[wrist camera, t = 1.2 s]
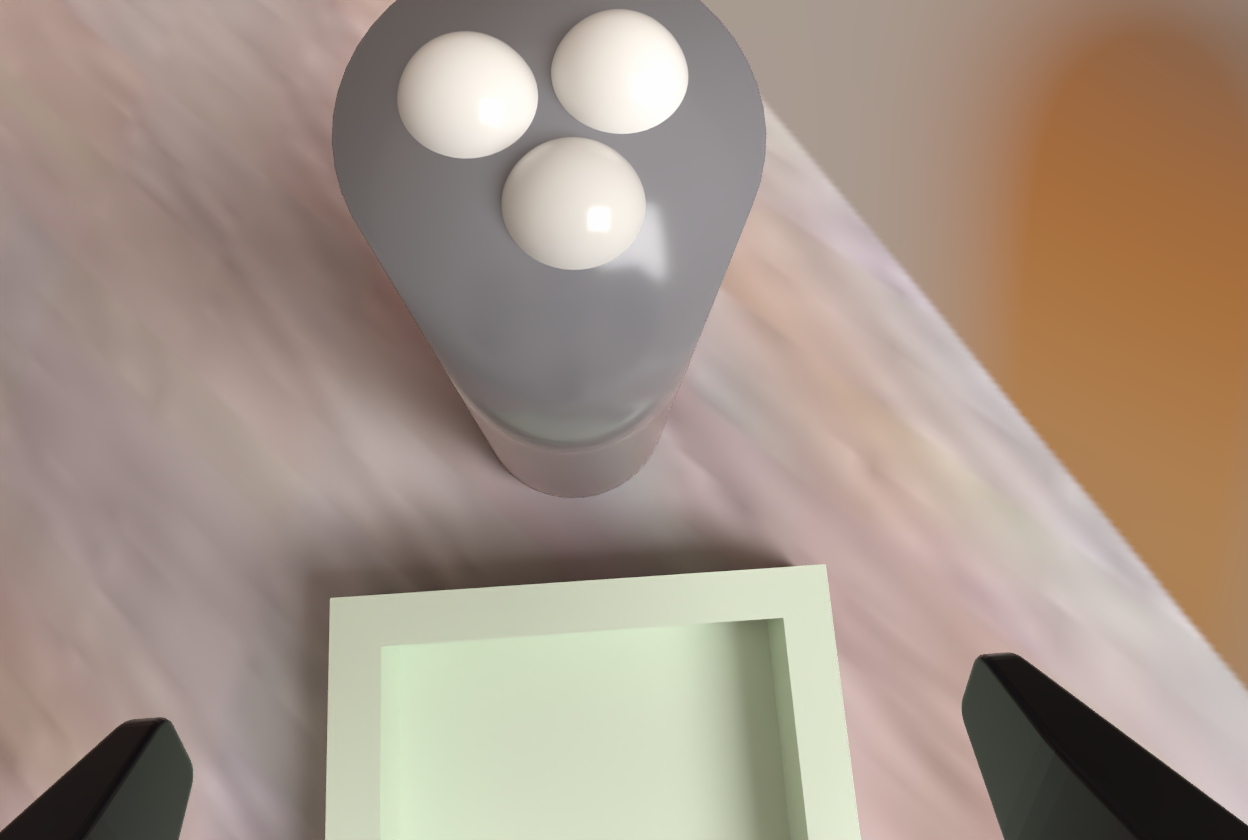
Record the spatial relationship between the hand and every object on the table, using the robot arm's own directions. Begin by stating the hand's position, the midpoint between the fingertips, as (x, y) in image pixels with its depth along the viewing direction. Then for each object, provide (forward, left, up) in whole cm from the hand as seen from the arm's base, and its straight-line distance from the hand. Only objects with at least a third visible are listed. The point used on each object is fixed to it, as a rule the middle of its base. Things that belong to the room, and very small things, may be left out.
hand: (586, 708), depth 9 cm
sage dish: (-3, +2, -12) cm, 13 cm away
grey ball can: (+6, -4, -12) cm, 14 cm away
